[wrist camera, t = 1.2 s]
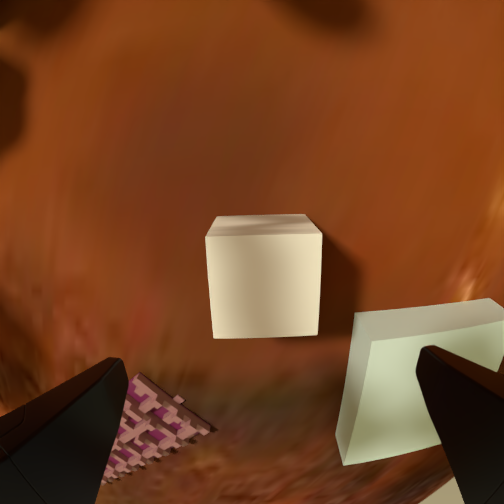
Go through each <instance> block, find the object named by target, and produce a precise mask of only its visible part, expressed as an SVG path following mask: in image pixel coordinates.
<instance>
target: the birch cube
mask: <svg viewBox="0 0 504 504" xmlns="http://www.w3.org/2000/svg"><path fill="white" fill-rule="evenodd" d="M205 239H206V254H207V268H208V281H209V293H210V305H211V316H212V327H213V337H214V338H266V337H291V336H310V335H317V334H318V319H319V303H320V283H321V259H322V233H321V232H320V231H319V229H318V228H317V227H316V226H315V225H314V224H313V223H312V222H311V221H310V219H309V218H308V217H307V216H306V215H305V214H282V215H244V216H217V218H216V219H215V221H214V223H213V224H212V226H211V228H210V230H209V231H208V233H207V235H206V236H205Z"/></svg>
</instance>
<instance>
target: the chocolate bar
mask: <svg viewBox="0 0 504 504" xmlns="http://www.w3.org/2000/svg"><path fill="white" fill-rule="evenodd" d="M183 401H185V399H184V398H182V397H181V396H180V395H177V396H176V397H174V398H172V397H171V396H169V395H168V394H167V393H165V392H164V391H163V390H162V389H160V388H159V387H158V386H156V385H155V384H154V383H153V382H151V381H150V380H149V379H148V378H146V377H145V376H144V375H143V374H142V373H140V372H139V373H138V374H137V375H136V376H135V377H133V378H132V379H131V380H130V381H129V387H128V391H127V395H126V400H125V404H124V409H123V413H122V418H121V422H120V426H119V430H118V433H117V436H116V439H115V442H114V445H113V448H112V450H111V453H110V456H109V460H108V463H107V466H106V469H105V472H104V475H103V478H102V481H101V485H105V483H106V482H107V480H108V481H109V482H112V481H113V480H114V478H117V477H118V476H121V477H123V476H125V474H126V472H127V473H128V472H130V471H131V470H133V471H136V470H138V468H139V465H141V466H143V465H145V464H146V463H148V464H151V463H153V460H154V457H157V458H159V457H161V456H162V455H164V456H167V455H169V454H170V451H171V448H173V447H175V448H178V447H180V446H181V445H182V446H183V447H184V446H186V445H188V444H189V439H190V438H191V437H193V436H195V435H197V434H198V433H201V434H203V435H206V434H207V433H209V432H210V426H211V425H210V424H208V423H207V422H205V421H204V420H202V419H201V418H199V417H198V416H197V415H195V414H194V413H192V412H191V411H190V410H188V409H187V408H185V407H184V406H183V405H181V404H180V403H182V402H183Z"/></svg>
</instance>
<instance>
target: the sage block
mask: <svg viewBox="0 0 504 504" xmlns="http://www.w3.org/2000/svg"><path fill="white" fill-rule="evenodd" d="M428 345H436V346H438V347H440V348H443V349H445V350H447V351H449V352H452V353H454V354H456V355H458V356H461V357H463V358H465V359H468V360H470V361H472V362H474V363H477V364H479V365H481V366H484V367H486V368H488V369H491V370H493V371H495V372H497V371H498V369H499V366H500V363H501V361H502V358H503V355H504V308H502V307H501V306H500V305H498V304H497V303H496V302H494V301H493V300H492V299H490V298H486V299H479V300H472V301H464V302H457V303H449V304H440V305H432V306H423V307H413V308H403V309H393V310H382V311H370V312H357V313H355V314H354V323H353V331H352V339H351V346H350V354H349V360H348V367H347V373H346V380H345V386H344V392H343V397H342V403H341V408H340V413H339V419H338V424H337V428H336V433H335V435H336V439H337V443H338V447H339V451H340V454H341V458H342V462H343V465H350V464H356V463H362V462H368V461H373V460H378V459H383V458H388V457H392V456H397V455H401V454H405V453H409V452H413V451H417V450H421V449H424V448H428V447H431V446H435V445H438V444H441V441H440V439H439V437H438V434H437V432H436V430H435V427H434V425H433V423H432V420H431V418H430V416H429V413H428V410H427V408H426V404H425V401H424V398H423V395H422V392H421V389H420V386H419V383H418V380H417V377H416V373H415V370H416V365H417V361H418V357H419V354H420V350H421V348H422V347H423V346H428Z"/></svg>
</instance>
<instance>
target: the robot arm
mask: <svg viewBox="0 0 504 504" xmlns="http://www.w3.org/2000/svg"><path fill="white" fill-rule="evenodd" d="M415 373H416V377H417V380H418V383H419V386H420V389H421V392H422V395H423V398H424V401H425V404H426V408H427V410H428V413H429V416H430V418H431V420H432V423H433V425H434V427H435V430H436V432H437V434H438V437H439V439H440V441H441V444H442V446H443V448H444V451H445V453H446V456H447V458H448V461H449V463H450V466H451V468H452V471H453V474H454V476H455V479H456V481H457V484H458V487H459V489H460V492H461V495H462V498H463V501H464V503H465V504H504V375H502V374H500V373H497V372H495V371H493V370H491V369H488V368H486V367H484V366H481V365H479V364H477V363H474V362H472V361H470V360H468V359H465V358H463V357H461V356H458V355H456V354H454V353H452V352H449V351H447V350H445V349H443V348H440V347H438V346H436V345H428V346H423V347H422V348H421V350H420V354H419V357H418V361H417V365H416V370H415ZM128 387H129V381H128V377H127V373H126V370H125V366H124V363H123V361H122V359H121V358H114V357H108V358H106V359H105V360H103V361H101V362H99V363H98V364H96V365H94V366H92V367H91V368H89V369H87V370H85V371H84V372H82V373H80V374H78V375H76V376H75V377H73V378H71V379H69V380H68V381H66V382H64V383H62V384H60V385H59V386H57V387H55V388H53V389H51V390H50V391H48V392H46V393H44V394H42V395H41V396H39V397H37V398H35V399H33V400H32V401H30V402H28V403H26V405H22V406H20V407H19V408H17V409H15V410H13V411H11V412H9V413H7V414H5V415H3V416H1V417H0V504H95V501H96V498H97V494H98V491H99V488H100V485H101V481H102V478H103V475H104V472H105V469H106V466H107V463H108V460H109V456H110V453H111V450H112V448H113V445H114V442H115V439H116V436H117V433H118V430H119V426H120V422H121V418H122V413H123V409H124V404H125V400H126V395H127V391H128Z"/></svg>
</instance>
